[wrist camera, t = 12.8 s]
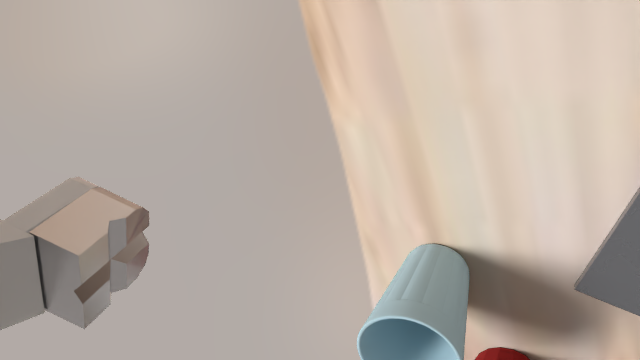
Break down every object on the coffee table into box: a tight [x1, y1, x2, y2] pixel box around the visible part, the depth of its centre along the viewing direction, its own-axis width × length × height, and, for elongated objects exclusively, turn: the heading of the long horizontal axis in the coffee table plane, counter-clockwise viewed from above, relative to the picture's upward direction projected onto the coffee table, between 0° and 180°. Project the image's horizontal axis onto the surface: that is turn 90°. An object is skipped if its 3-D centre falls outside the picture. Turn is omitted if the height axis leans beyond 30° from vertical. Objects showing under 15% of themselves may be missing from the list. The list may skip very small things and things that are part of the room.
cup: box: [357, 244, 469, 360], centre depth 43 cm, size 8×8×10 cm
